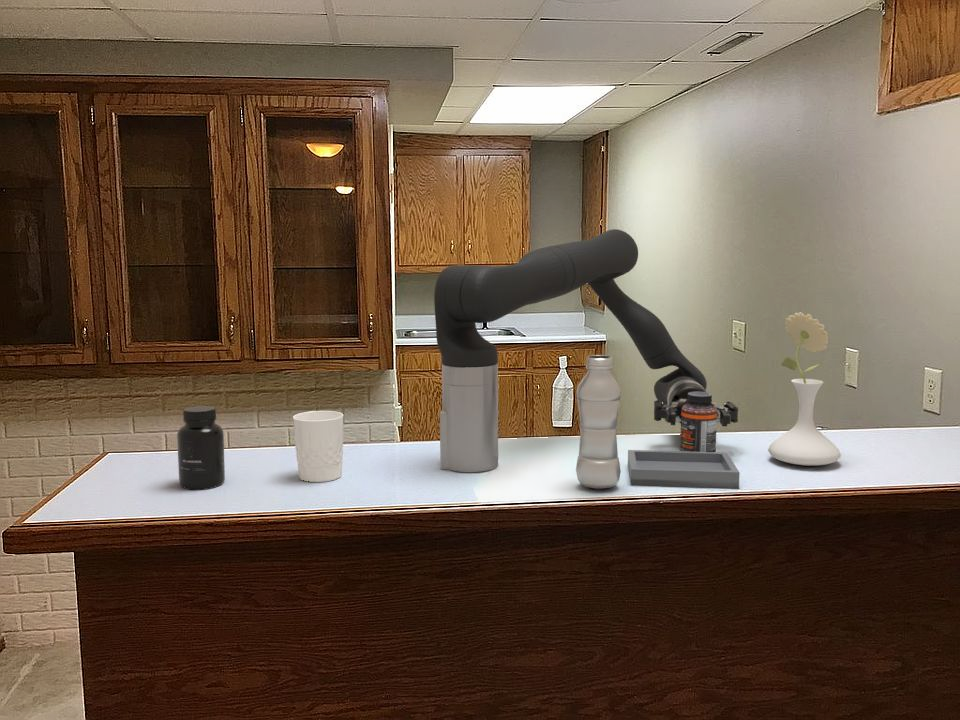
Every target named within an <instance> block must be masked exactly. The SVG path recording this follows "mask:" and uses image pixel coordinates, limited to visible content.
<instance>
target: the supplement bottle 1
mask: <svg viewBox="0 0 960 720" xmlns="http://www.w3.org/2000/svg"><path fill="white" fill-rule="evenodd" d="M182 415H183V416H182V421H183V422H184V424H183V425H182V426H181V427H180V428H179V429H178V430H177V434H176V438H177V439H176V440H177V441H176V442H177V443H176V444H177V460H178V461H177V466H178V482H179V485H180V486H181V488H183V487H185V488H184V489H186V488H190V489H189V490H194V489H199V490H205V489H204V488H209V489H211V488H210V487H214V488H216V487H215V486H217V487H219V486H221V485H223V484H224V482H225V480H226V474H225V473H226V471H225V467H226V466H225V446H224V445H225V443H224V442H225V441H224V440H225V439H224V429H223V428H222V426H221V425H219V424H218V423H216V420H217V408H216V407H215V406H210V405H198V406H197V405H196V406H189V407H186V408H184V409H182ZM222 483H223V484H222ZM220 484H221V485H220ZM218 485H219V486H218Z"/></svg>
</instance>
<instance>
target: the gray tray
mask: <svg viewBox="0 0 960 720" xmlns="http://www.w3.org/2000/svg"><path fill="white" fill-rule="evenodd" d="M627 469H628V475H629V481H630V486H644V487H673V488H674V487H678V488H705V489H706V488H708V489H709V488H710V489H735V490H736V489H740V471H739V469H738V467H737V466H736V465H735V463H734V461H733V459H732V458H731V457H730V455H729V454H728V452H724V451H723V452H720V451H716V452H689V451H680V450H679V451H678V450H647V449H646V450H643V449H628V450H627Z"/></svg>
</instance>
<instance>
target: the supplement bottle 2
mask: <svg viewBox="0 0 960 720" xmlns="http://www.w3.org/2000/svg"><path fill="white" fill-rule="evenodd" d="M712 397H713V395H712V393H710V392H708V391H706V392H689V393H688V398H687V400H688V402H687V403H686V405H684V406H683V407H682V410H681V423H680V437H679V438H680V439H679V440H680V441H679V443H680V444H679V451H689V452H717V451H716V450H717V449H716V447H717V425H718V422H717V409H716V408H715V407H714V406H713V405H712V403H711V401H712V402H713V400H712V399H713V398H712Z"/></svg>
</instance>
